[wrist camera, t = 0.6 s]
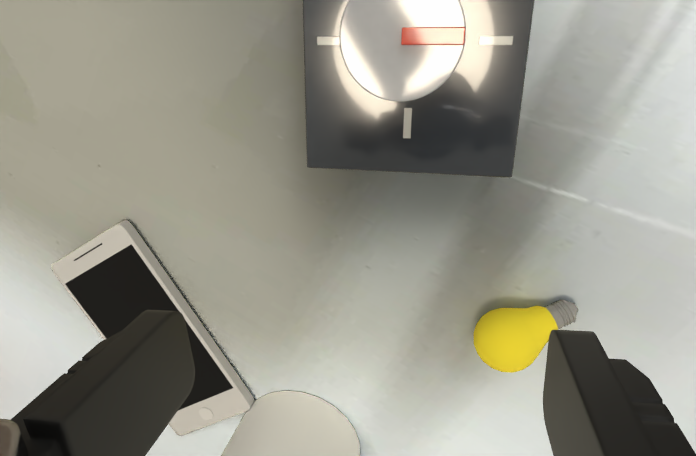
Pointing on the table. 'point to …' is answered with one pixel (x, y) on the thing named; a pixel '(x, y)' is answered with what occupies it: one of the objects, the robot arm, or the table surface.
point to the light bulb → (519, 333)
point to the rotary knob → (402, 45)
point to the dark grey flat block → (420, 100)
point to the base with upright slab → (293, 428)
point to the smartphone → (150, 294)
